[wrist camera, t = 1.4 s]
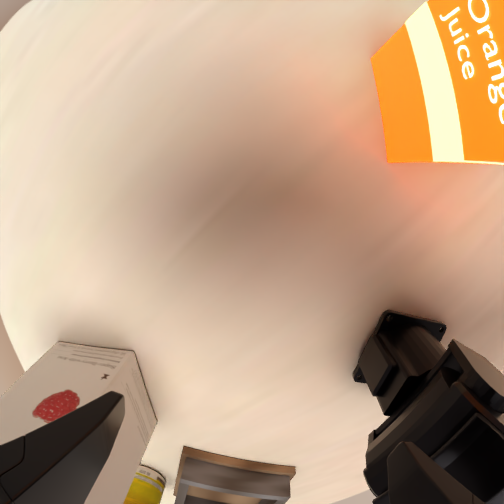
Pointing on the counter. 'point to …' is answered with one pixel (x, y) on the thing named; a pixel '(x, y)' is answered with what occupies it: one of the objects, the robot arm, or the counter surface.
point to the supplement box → (76, 395)
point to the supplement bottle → (145, 487)
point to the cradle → (229, 480)
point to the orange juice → (444, 84)
